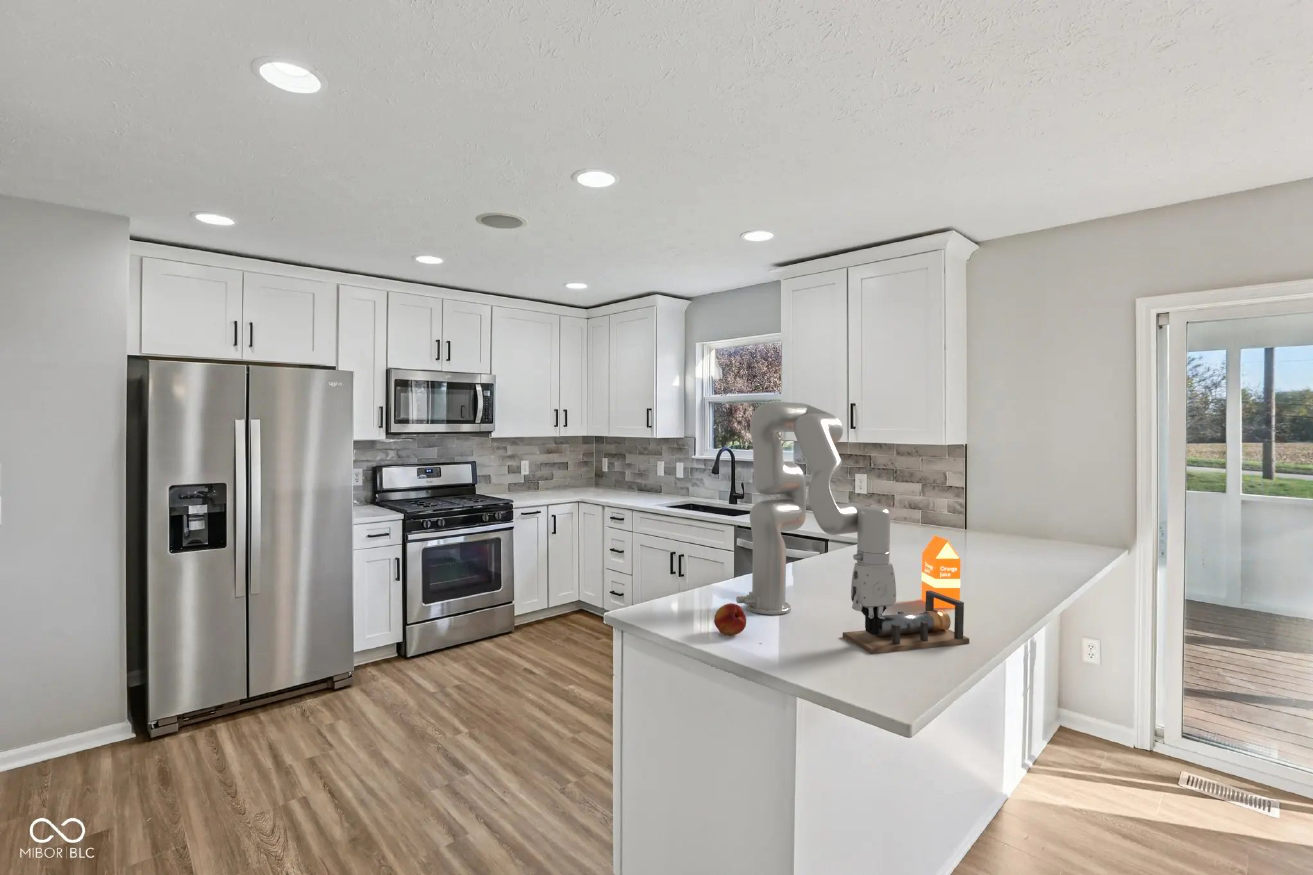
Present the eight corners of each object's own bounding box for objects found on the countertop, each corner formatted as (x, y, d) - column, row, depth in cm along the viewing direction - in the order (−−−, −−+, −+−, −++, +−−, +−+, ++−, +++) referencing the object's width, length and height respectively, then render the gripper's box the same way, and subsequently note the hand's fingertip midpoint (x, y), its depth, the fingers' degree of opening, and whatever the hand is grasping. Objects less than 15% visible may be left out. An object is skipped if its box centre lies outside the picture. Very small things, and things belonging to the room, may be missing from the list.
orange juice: (945, 599, 195) (946, 535, 195) (960, 607, 186) (961, 540, 186) (920, 599, 195) (921, 535, 194) (934, 607, 186) (935, 540, 186)
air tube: (883, 639, 154) (883, 618, 154) (870, 633, 159) (870, 612, 159) (950, 632, 160) (950, 612, 160) (936, 626, 165) (936, 607, 165)
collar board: (871, 653, 148) (872, 610, 148) (842, 637, 159) (843, 596, 159) (969, 643, 156) (970, 602, 156) (934, 628, 167) (935, 589, 167)
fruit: (720, 641, 155) (721, 609, 155) (709, 631, 163) (709, 600, 163) (750, 638, 157) (750, 607, 157) (737, 628, 165) (737, 598, 165)
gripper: (855, 562, 148) (854, 640, 149) (909, 559, 153) (908, 635, 153) (837, 556, 156) (836, 630, 156) (889, 553, 160) (888, 625, 160)
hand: (872, 632), depth 154 cm, fingers closed
